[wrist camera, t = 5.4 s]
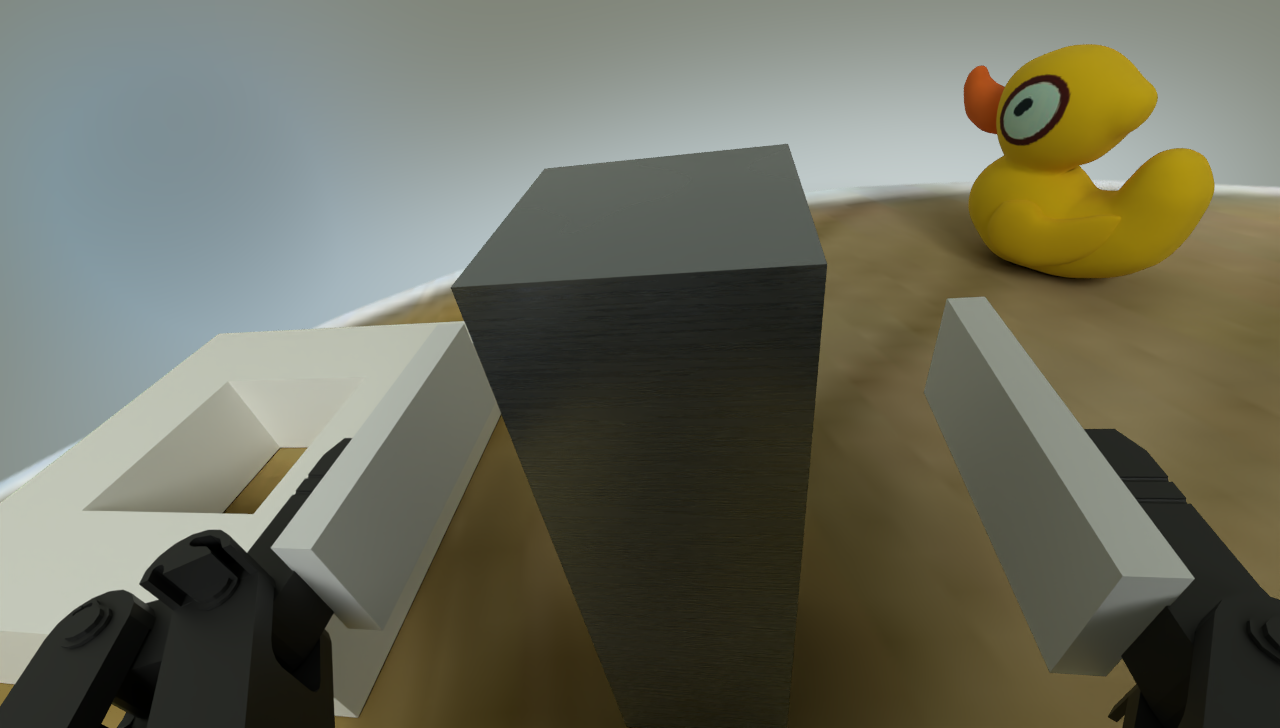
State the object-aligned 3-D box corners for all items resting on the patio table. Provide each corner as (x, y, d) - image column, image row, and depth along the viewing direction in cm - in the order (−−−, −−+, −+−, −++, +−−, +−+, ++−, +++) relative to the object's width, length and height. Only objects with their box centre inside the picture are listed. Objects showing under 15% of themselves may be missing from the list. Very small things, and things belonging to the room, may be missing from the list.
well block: (512, 389, 26) (487, 319, 23) (358, 717, 15) (279, 651, 12) (265, 395, 28) (218, 333, 26) (-24, 680, 17) (-151, 619, 15)
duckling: (904, 242, 32) (938, 52, 26) (967, 216, 33) (1012, 31, 27) (1115, 325, 23) (1239, 71, 17) (1186, 284, 25) (1323, 39, 19)
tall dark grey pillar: (773, 587, 16) (787, 143, 8) (785, 741, 13) (827, 263, 5) (644, 581, 17) (544, 168, 9) (626, 726, 14) (451, 287, 6)
